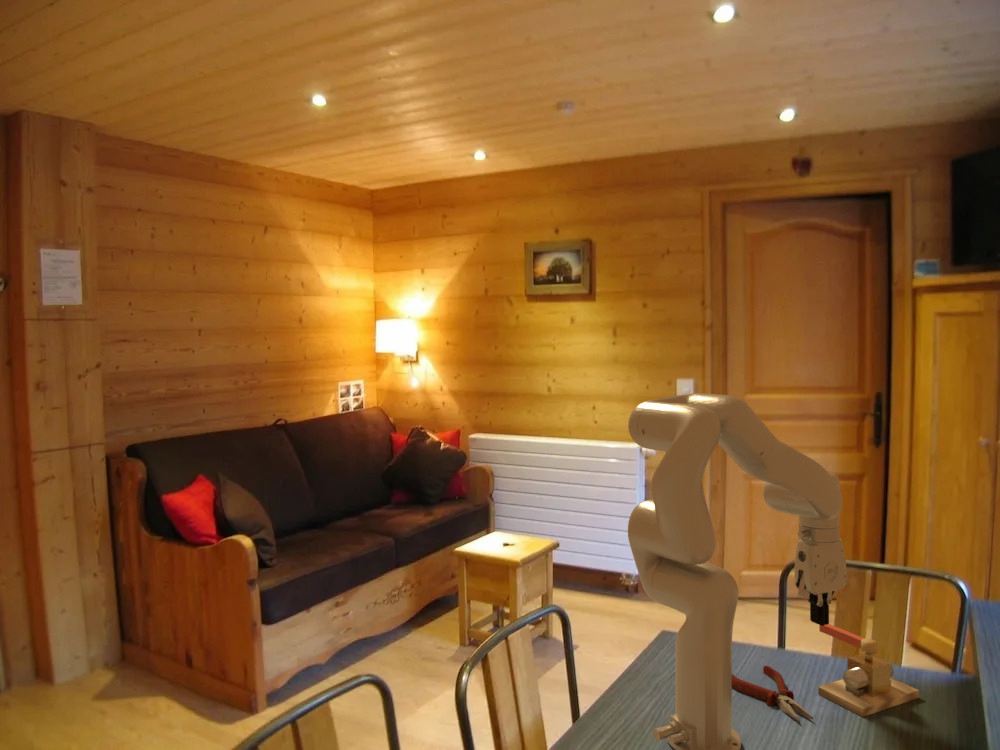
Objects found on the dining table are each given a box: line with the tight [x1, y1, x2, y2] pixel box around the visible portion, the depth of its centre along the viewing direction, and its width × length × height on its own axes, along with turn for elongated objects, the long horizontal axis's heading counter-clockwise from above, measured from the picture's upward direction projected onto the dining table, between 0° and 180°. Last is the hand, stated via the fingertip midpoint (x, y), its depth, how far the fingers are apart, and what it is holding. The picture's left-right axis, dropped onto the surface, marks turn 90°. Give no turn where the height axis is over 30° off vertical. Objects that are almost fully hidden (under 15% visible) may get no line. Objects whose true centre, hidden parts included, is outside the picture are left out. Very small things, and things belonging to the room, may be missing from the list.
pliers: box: [732, 665, 814, 723], centre depth 145 cm, size 12×20×3 cm, turn 14°
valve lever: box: [818, 623, 878, 655], centre depth 149 cm, size 12×3×2 cm, turn 26°
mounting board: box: [817, 677, 920, 718], centre depth 145 cm, size 16×10×2 cm, turn 116°
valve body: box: [842, 652, 895, 697], centre depth 145 cm, size 10×6×7 cm, turn 116°
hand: (819, 622), depth 148 cm, fingers closed
